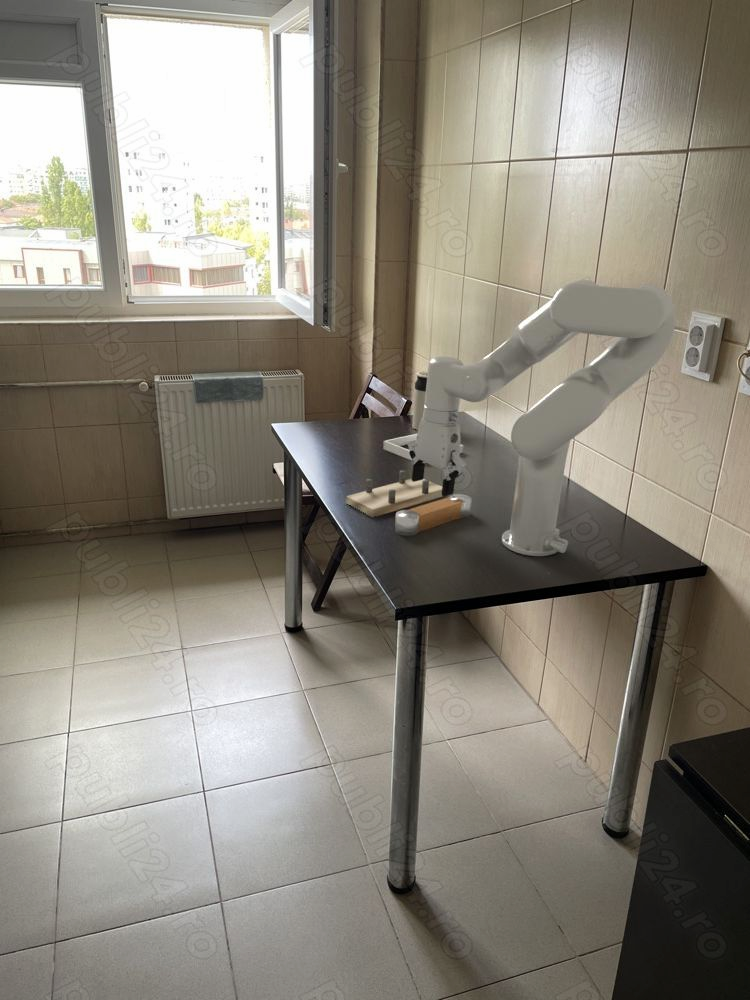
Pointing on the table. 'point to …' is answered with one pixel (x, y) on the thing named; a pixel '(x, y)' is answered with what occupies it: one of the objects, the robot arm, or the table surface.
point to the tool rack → (393, 495)
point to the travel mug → (419, 398)
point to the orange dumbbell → (432, 514)
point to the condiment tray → (395, 444)
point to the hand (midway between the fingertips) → (432, 487)
